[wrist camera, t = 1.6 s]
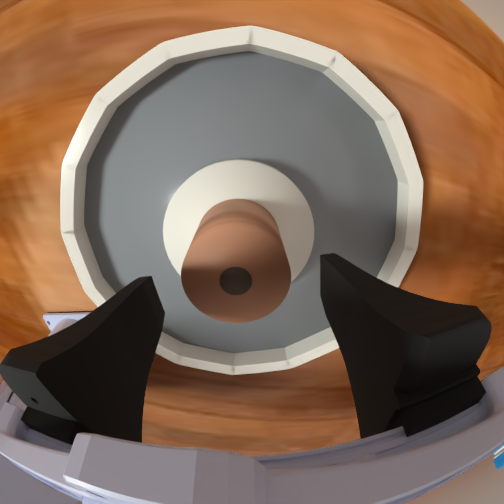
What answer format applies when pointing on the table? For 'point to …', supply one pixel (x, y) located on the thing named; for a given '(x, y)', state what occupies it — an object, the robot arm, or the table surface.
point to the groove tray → (233, 130)
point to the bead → (236, 263)
